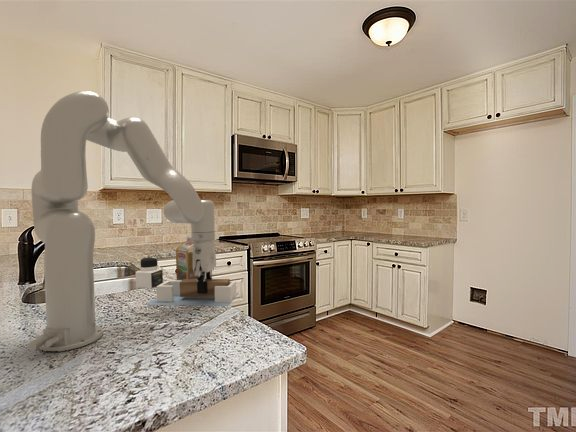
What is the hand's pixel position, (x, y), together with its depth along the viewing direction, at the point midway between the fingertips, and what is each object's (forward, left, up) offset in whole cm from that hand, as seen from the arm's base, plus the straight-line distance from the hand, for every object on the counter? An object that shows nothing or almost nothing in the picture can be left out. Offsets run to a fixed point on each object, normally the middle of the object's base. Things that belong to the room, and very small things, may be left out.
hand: (204, 290), depth 101 cm
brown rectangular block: (0, 0, -2) cm, 2 cm away
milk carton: (+24, +13, -4) cm, 28 cm away
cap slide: (0, +12, -3) cm, 12 cm away
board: (0, +4, -4) cm, 5 cm away
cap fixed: (0, -7, -3) cm, 8 cm away
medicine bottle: (+16, +28, -4) cm, 33 cm away
